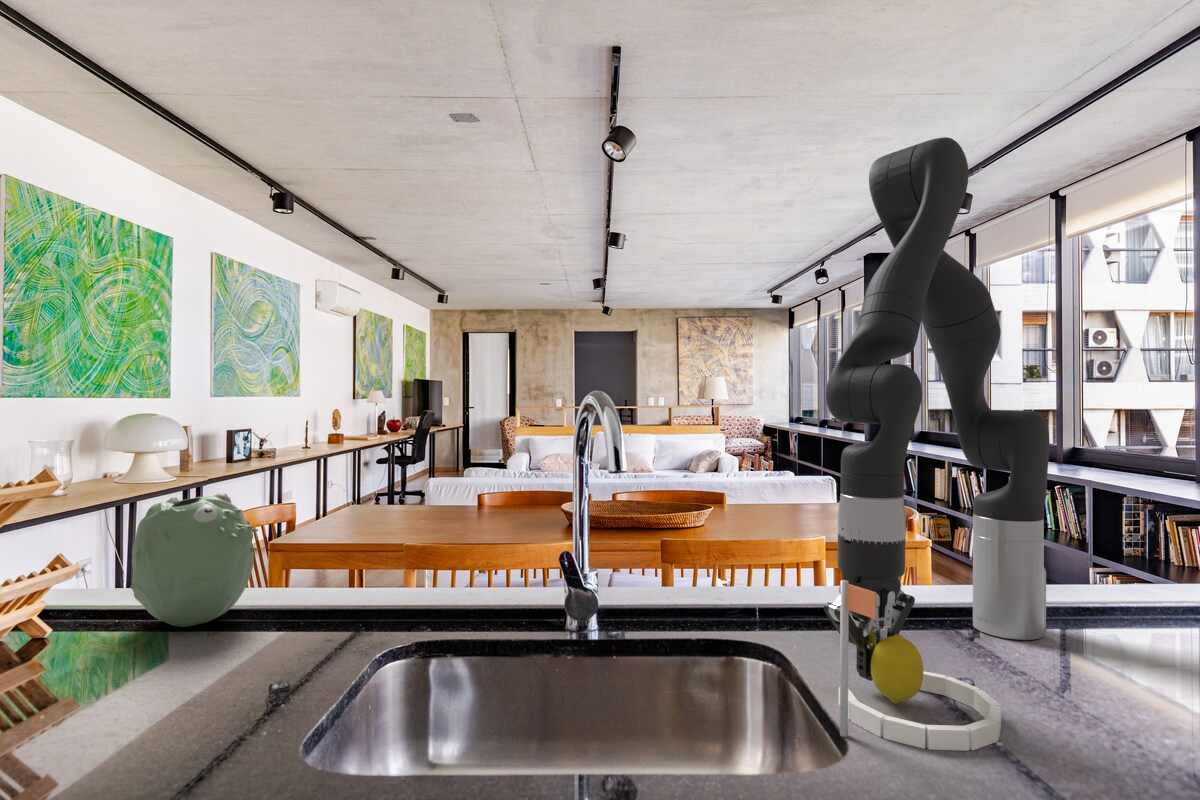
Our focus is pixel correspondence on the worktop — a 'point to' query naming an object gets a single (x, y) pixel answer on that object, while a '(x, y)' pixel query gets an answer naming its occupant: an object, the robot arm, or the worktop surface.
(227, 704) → the worktop surface
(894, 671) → the lemon
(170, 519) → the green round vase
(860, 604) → the white arc
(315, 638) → the worktop surface
